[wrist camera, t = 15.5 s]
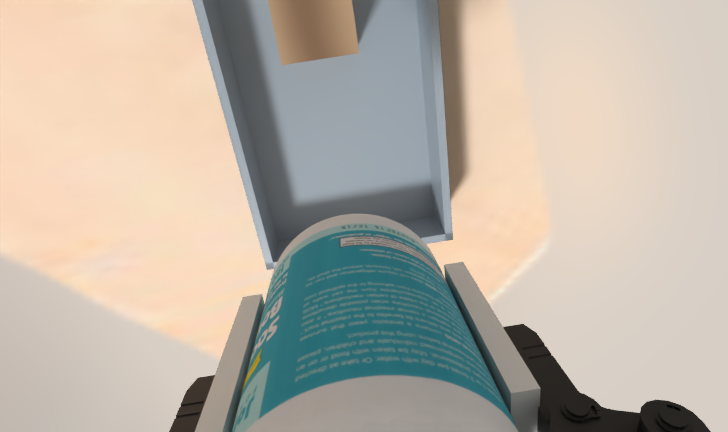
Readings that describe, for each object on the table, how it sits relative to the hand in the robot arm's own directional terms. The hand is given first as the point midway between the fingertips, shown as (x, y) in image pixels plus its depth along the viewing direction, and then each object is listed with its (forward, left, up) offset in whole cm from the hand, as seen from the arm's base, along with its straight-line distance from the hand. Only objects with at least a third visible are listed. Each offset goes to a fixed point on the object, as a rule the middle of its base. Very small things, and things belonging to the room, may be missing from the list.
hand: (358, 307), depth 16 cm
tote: (-8, 0, -19) cm, 21 cm away
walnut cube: (-12, 0, -19) cm, 22 cm away
